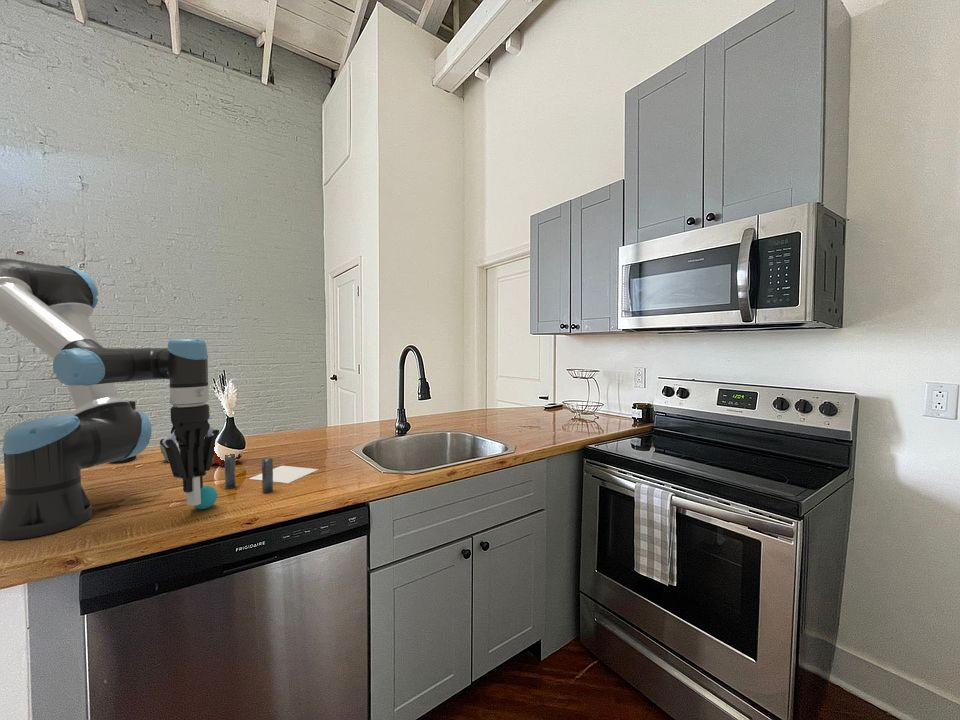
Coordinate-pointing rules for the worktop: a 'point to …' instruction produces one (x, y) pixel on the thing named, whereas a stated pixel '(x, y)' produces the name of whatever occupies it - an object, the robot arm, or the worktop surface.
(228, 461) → the gate post left
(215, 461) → the dragon fruit
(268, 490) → the gate post right
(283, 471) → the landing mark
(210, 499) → the ball
